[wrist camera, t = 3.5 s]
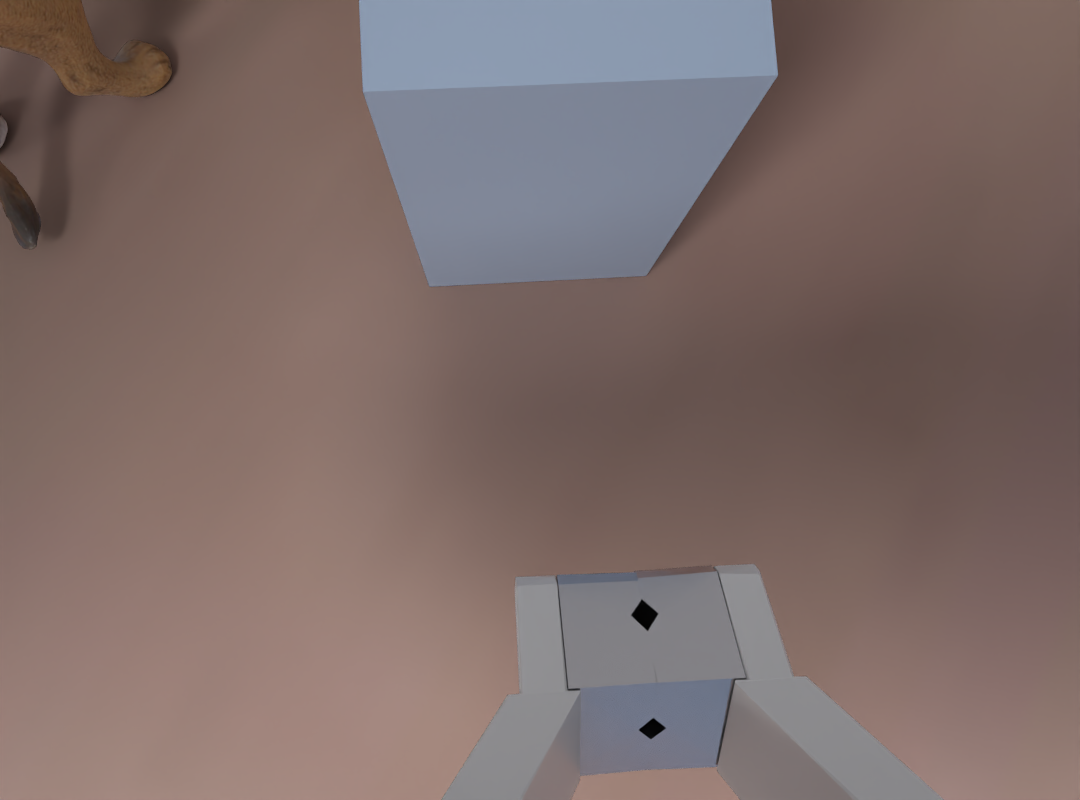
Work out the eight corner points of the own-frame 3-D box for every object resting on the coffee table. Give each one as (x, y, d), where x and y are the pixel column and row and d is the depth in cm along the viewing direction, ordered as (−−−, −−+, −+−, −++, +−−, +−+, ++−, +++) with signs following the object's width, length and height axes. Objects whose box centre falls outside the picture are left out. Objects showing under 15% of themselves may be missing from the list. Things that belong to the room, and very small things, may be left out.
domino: (429, 286, 21) (362, 91, 11) (425, 218, 21) (357, -36, 11) (645, 276, 21) (777, 75, 11) (641, 208, 21) (766, -49, 11)
